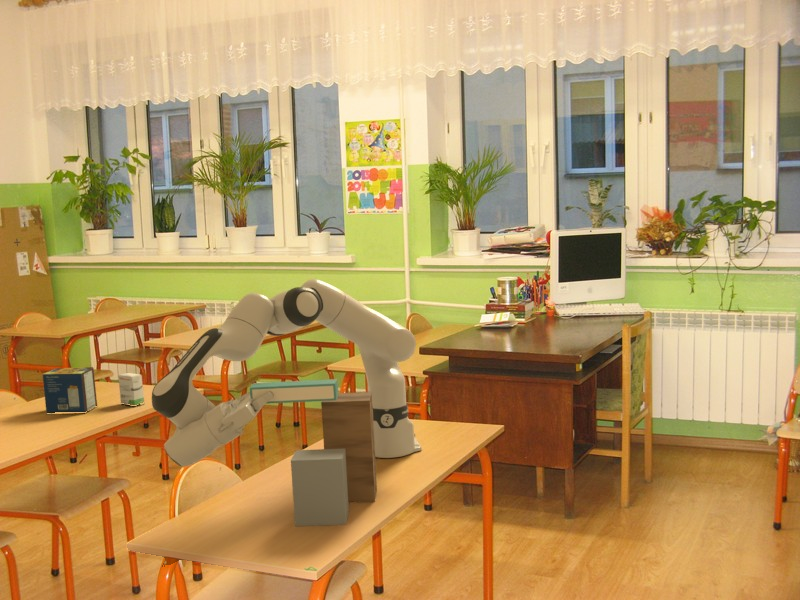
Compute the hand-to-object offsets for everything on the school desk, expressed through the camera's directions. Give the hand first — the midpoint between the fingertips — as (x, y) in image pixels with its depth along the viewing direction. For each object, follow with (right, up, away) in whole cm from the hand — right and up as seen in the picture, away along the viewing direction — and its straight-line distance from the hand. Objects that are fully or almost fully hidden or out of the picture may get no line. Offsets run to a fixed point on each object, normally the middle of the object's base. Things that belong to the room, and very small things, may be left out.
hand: (274, 390), depth 209 cm
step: (+11, -31, +4) cm, 33 cm away
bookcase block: (+17, -29, +18) cm, 38 cm away
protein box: (-93, -20, +124) cm, 156 cm away
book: (+5, -2, 0) cm, 5 cm away
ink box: (-72, -19, +129) cm, 149 cm away
